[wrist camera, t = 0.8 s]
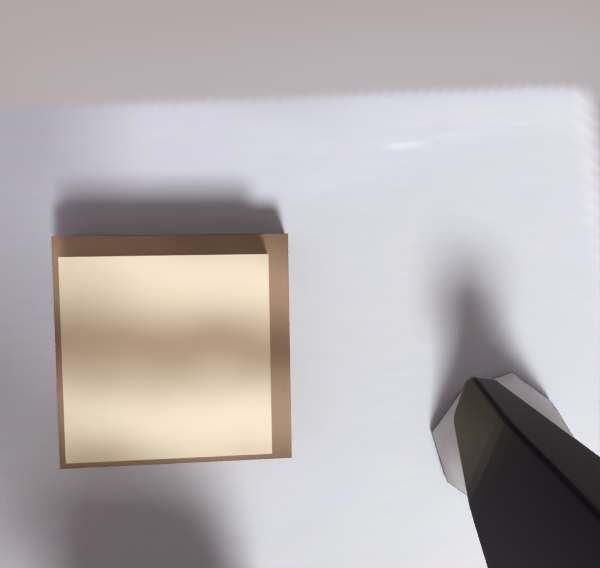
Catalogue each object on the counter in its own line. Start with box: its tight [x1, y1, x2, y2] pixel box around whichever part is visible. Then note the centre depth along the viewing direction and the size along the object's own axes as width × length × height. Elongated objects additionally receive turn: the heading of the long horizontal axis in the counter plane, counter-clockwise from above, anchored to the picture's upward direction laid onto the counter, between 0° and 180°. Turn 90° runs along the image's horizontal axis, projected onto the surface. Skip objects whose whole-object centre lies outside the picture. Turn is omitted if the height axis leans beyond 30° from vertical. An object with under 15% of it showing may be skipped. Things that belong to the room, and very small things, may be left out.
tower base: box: [52, 234, 292, 469], centre depth 25 cm, size 11×11×4 cm
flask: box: [432, 373, 573, 495], centre depth 23 cm, size 7×7×10 cm
